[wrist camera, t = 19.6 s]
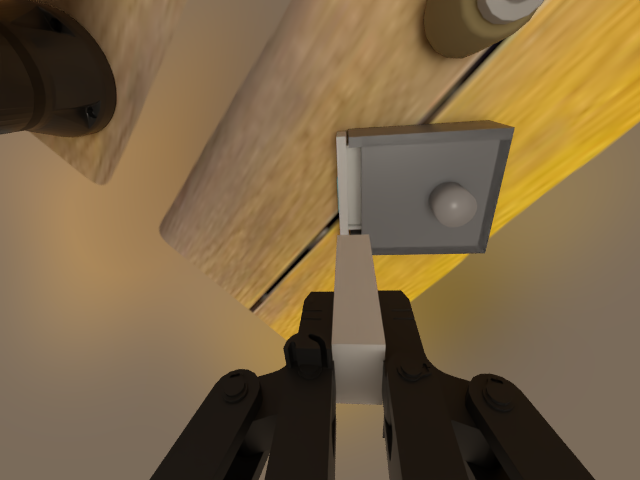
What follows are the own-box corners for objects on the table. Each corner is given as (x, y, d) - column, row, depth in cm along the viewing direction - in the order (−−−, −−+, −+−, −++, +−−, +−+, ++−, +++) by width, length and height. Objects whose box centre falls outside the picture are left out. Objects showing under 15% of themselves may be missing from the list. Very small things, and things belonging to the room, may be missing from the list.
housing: (348, 129, 39) (348, 143, 30) (488, 120, 37) (532, 132, 28) (350, 234, 47) (351, 269, 38) (467, 231, 45) (496, 267, 36)
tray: (335, 131, 39) (335, 136, 35) (476, 123, 37) (490, 127, 34) (340, 234, 46) (339, 247, 43) (457, 231, 45) (467, 244, 41)
